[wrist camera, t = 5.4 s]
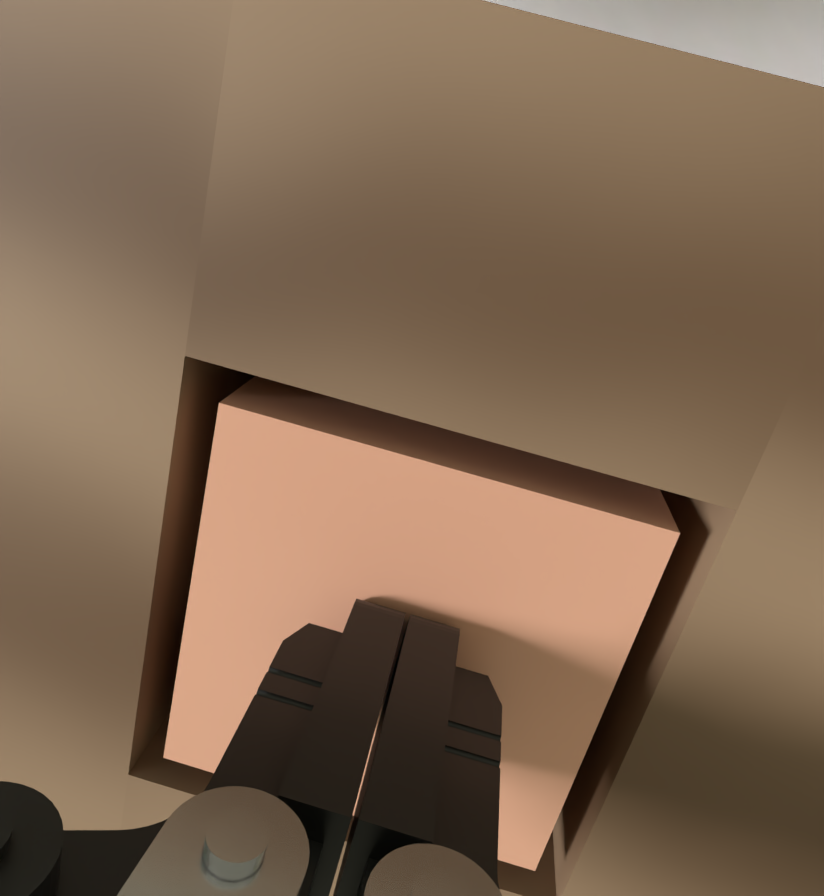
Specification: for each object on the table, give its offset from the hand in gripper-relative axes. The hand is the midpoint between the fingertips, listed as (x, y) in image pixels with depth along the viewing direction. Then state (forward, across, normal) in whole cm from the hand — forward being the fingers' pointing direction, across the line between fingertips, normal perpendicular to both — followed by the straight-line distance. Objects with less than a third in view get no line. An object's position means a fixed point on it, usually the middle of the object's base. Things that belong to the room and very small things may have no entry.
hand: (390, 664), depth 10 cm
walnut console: (+6, 0, +8) cm, 10 cm away
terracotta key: (+4, 0, 0) cm, 4 cm away
